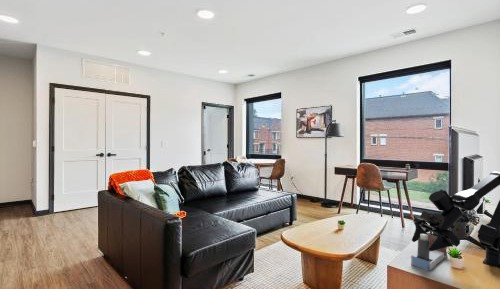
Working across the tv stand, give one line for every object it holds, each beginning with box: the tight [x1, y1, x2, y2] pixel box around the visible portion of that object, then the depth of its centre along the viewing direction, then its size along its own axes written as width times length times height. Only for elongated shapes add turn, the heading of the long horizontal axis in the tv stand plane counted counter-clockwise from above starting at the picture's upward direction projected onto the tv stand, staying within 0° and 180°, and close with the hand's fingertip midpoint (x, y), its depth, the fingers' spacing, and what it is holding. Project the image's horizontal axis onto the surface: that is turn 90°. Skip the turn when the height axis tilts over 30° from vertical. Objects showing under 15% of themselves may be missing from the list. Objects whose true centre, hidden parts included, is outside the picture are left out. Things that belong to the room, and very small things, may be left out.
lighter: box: [427, 231, 448, 256], centre depth 121 cm, size 8×3×10 cm, turn 40°
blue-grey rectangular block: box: [410, 250, 445, 272], centre depth 111 cm, size 18×6×4 cm, turn 129°
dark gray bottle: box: [416, 234, 430, 261], centre depth 107 cm, size 4×4×12 cm
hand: (420, 245), depth 107 cm, fingers open, 9 cm apart
